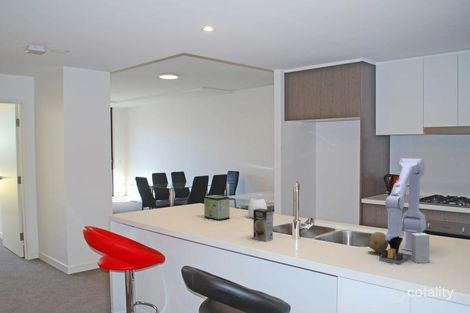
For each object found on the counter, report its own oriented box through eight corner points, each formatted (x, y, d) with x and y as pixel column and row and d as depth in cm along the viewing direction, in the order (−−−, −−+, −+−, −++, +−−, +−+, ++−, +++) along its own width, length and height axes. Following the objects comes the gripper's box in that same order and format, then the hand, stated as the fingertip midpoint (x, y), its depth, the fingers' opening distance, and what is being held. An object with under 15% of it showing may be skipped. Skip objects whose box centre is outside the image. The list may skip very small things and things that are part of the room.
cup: (249, 216, 288) (249, 197, 288) (267, 216, 286) (267, 197, 286) (247, 219, 275) (247, 199, 275) (266, 219, 273) (266, 200, 273)
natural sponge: (374, 256, 182) (374, 234, 182) (364, 251, 191) (364, 230, 191) (392, 255, 184) (392, 233, 184) (381, 250, 193) (381, 229, 193)
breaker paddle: (391, 255, 177) (391, 248, 177) (395, 256, 175) (395, 248, 175) (387, 257, 175) (387, 249, 174) (392, 258, 173) (392, 250, 173)
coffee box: (252, 239, 218) (252, 209, 217) (260, 237, 223) (260, 208, 222) (266, 241, 212) (266, 211, 211) (273, 239, 216) (273, 209, 216)
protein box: (215, 216, 289) (215, 194, 288) (230, 219, 277) (229, 196, 277) (203, 218, 282) (203, 196, 281) (218, 221, 270) (218, 198, 270)
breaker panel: (392, 254, 185) (392, 246, 185) (411, 258, 179) (412, 249, 179) (379, 260, 176) (379, 251, 176) (399, 264, 170) (399, 255, 170)
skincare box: (424, 260, 176) (424, 232, 176) (429, 262, 172) (429, 235, 172) (410, 260, 176) (411, 233, 176) (415, 263, 172) (415, 235, 172)
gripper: (396, 226, 169) (396, 259, 169) (410, 221, 179) (410, 252, 179) (380, 224, 174) (380, 255, 174) (395, 219, 184) (395, 249, 184)
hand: (394, 253), depth 177 cm, fingers closed
